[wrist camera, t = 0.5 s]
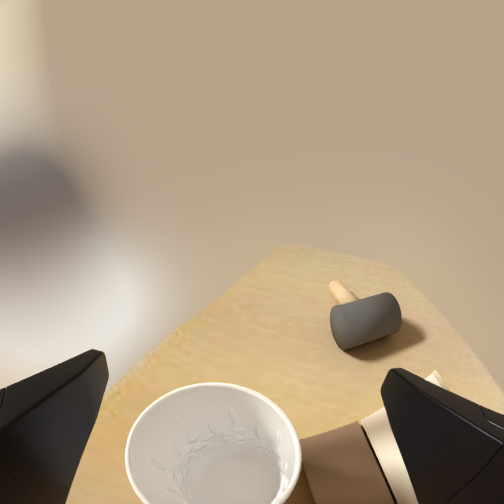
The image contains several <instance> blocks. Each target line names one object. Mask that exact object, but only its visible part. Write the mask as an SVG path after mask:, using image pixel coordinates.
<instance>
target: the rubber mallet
mask: <svg viewBox="0 0 504 504" xmlns="http://www.w3.org/2000/svg"><path fill="white" fill-rule="evenodd" d="M329 291H330V293H331V294H332V295H333V296H334V297H335V299H336V300H337V301H338V302H339V303H340V305H337V306H334V307H332V309H331V313H330V324H331V330H332V334H333V337H334V339H335V341H336V343H337V345H338V347H339V348H340V349H342V350H346V349H349V348H352V347H355V346H359V345H362V344H365V343H368V342H371V341H373V340H376V339H379V338H382V337H385V336H388V335H390V334H393V333H396V332H397V331H398V330H399V328H400V326H401V310H400V307H399V304H398V302H397V300H396V298H395V297H394V296H393V295H392V294H390V293H388V292H385V293H382V294H378V295H375V296H371V297H368V298H364V299H360V300H358V299H357V298H356V297H355V296H354V295H353V294H352V293H351V292H350V291H349V290H348V289H347V288H346V286H345V285H344V284H343V283H342V282H340V281H338V280H334V281H332V282H331V283H330V285H329Z"/></svg>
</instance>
